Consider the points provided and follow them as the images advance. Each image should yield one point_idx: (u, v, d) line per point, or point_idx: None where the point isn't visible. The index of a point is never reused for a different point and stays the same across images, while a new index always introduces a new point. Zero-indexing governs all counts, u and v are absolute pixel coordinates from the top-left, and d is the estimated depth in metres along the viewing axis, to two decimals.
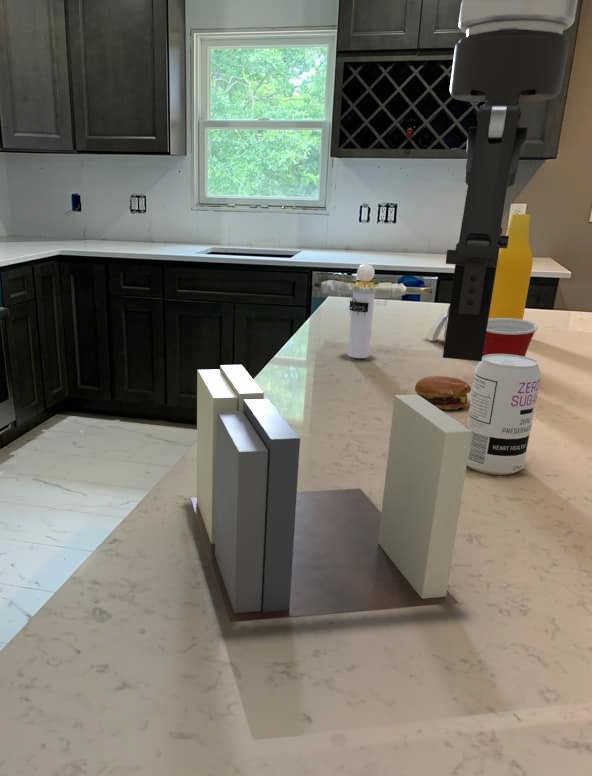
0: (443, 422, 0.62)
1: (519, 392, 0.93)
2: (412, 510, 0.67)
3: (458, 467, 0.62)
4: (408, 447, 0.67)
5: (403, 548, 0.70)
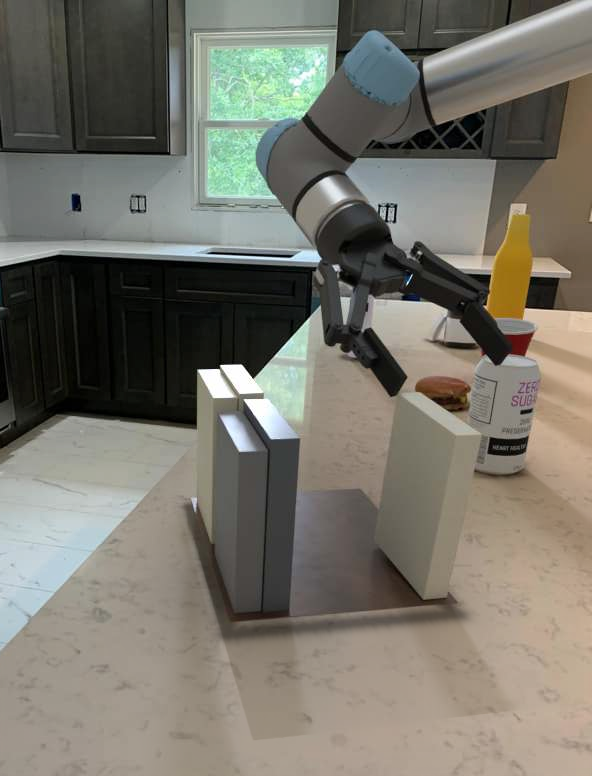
0: (452, 424, 0.62)
1: (519, 392, 0.93)
2: (415, 510, 0.67)
3: (467, 470, 0.61)
4: (412, 446, 0.66)
5: (403, 548, 0.69)
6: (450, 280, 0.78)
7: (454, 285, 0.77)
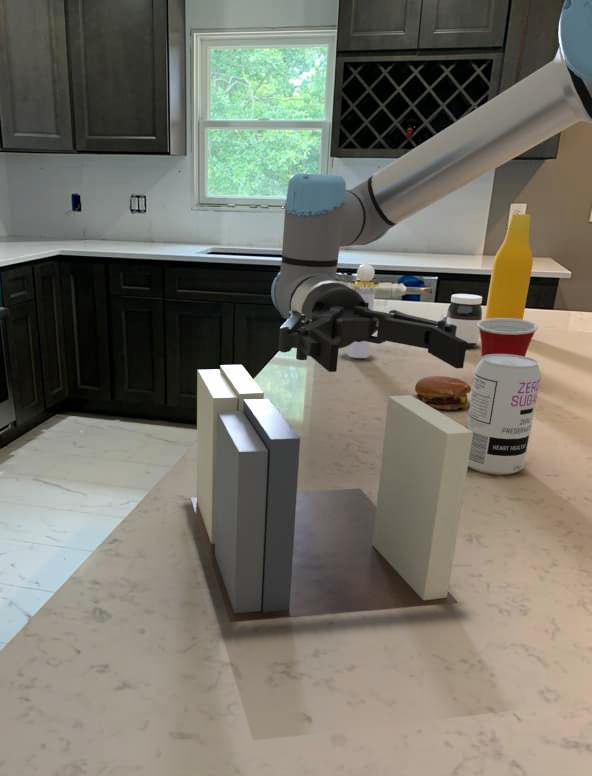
0: (443, 423, 0.62)
1: (519, 392, 0.93)
2: (411, 512, 0.67)
3: (460, 468, 0.61)
4: (405, 448, 0.67)
5: (401, 550, 0.69)
6: None
7: (419, 323, 0.81)
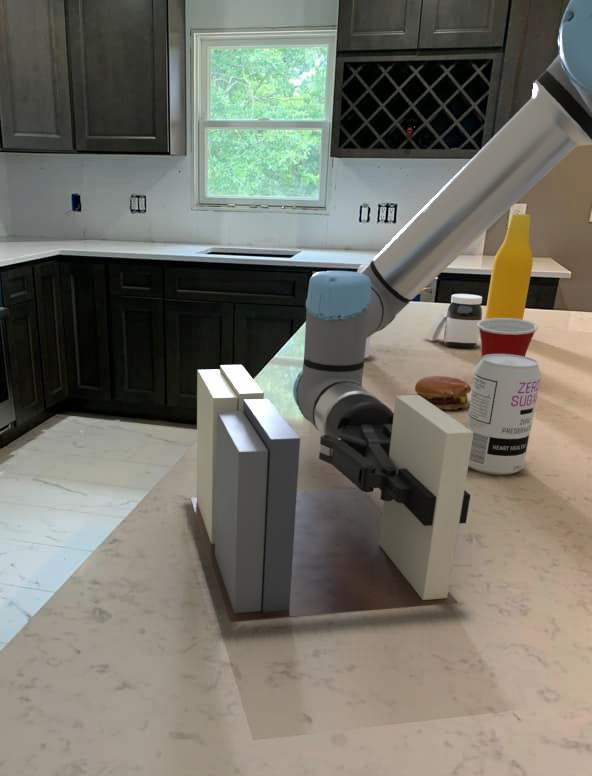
0: (445, 423, 0.62)
1: (519, 392, 0.93)
2: None
3: (460, 468, 0.61)
4: (410, 447, 0.67)
5: (404, 549, 0.69)
6: None
7: None
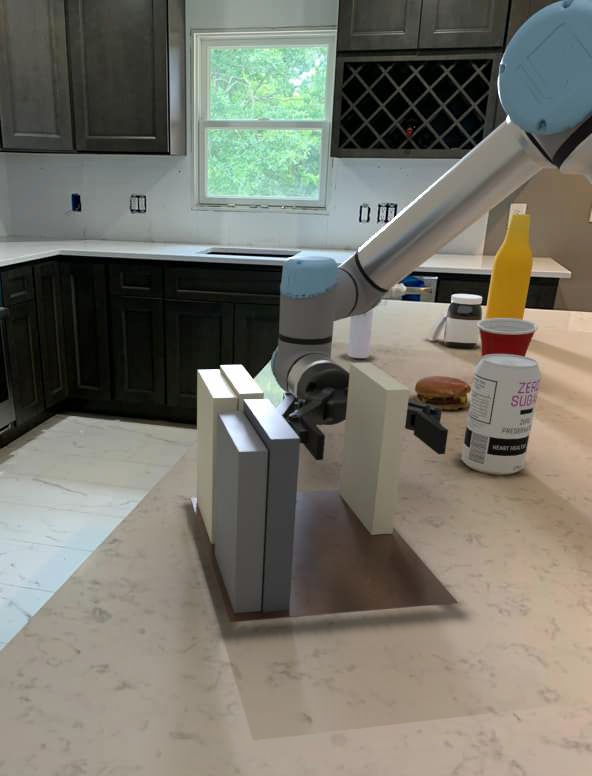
0: (387, 382, 0.74)
1: (519, 392, 0.93)
2: (364, 460, 0.79)
3: (399, 420, 0.73)
4: (361, 406, 0.79)
5: (357, 494, 0.81)
6: None
7: None
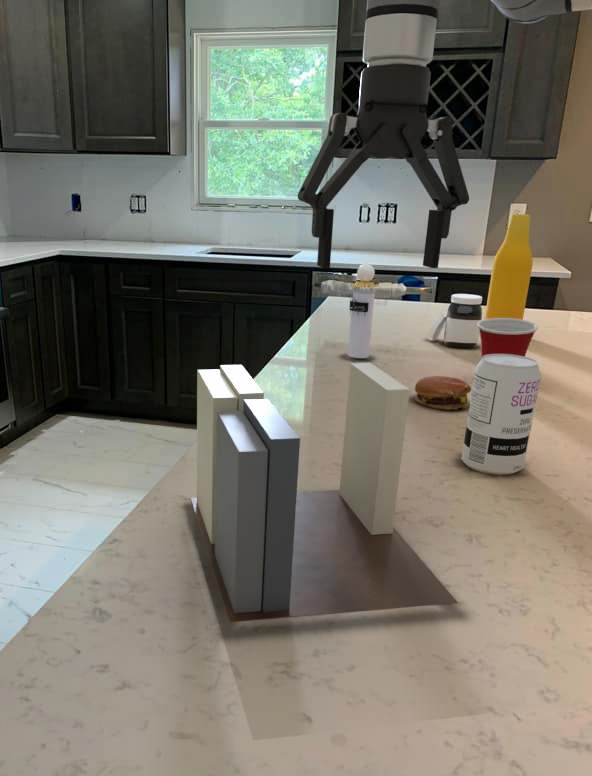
0: (387, 382, 0.74)
1: (519, 392, 0.93)
2: (364, 460, 0.79)
3: (399, 420, 0.73)
4: (361, 406, 0.79)
5: (357, 494, 0.81)
6: (447, 171, 0.85)
7: (441, 184, 0.85)
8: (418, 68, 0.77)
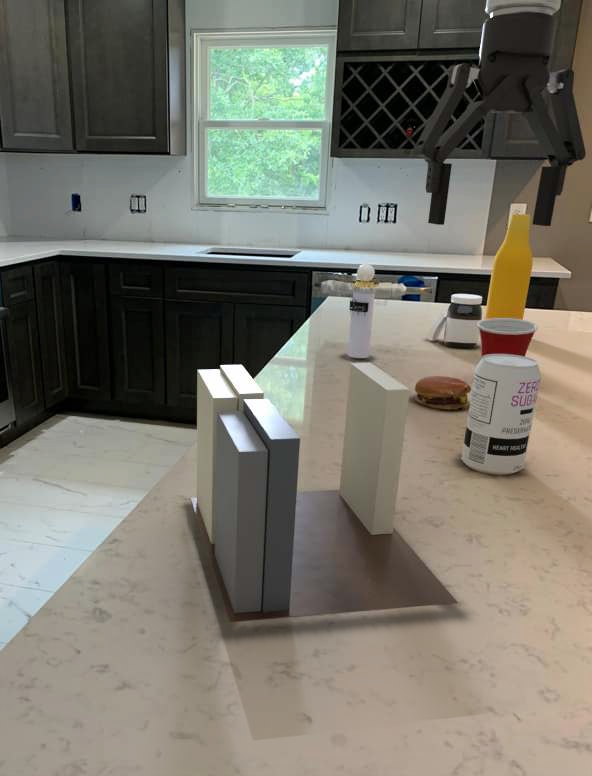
0: (387, 382, 0.74)
1: (519, 392, 0.93)
2: (364, 460, 0.79)
3: (399, 420, 0.73)
4: (361, 406, 0.79)
5: (357, 494, 0.81)
6: (565, 126, 0.84)
7: (558, 139, 0.83)
8: (547, 16, 0.76)
